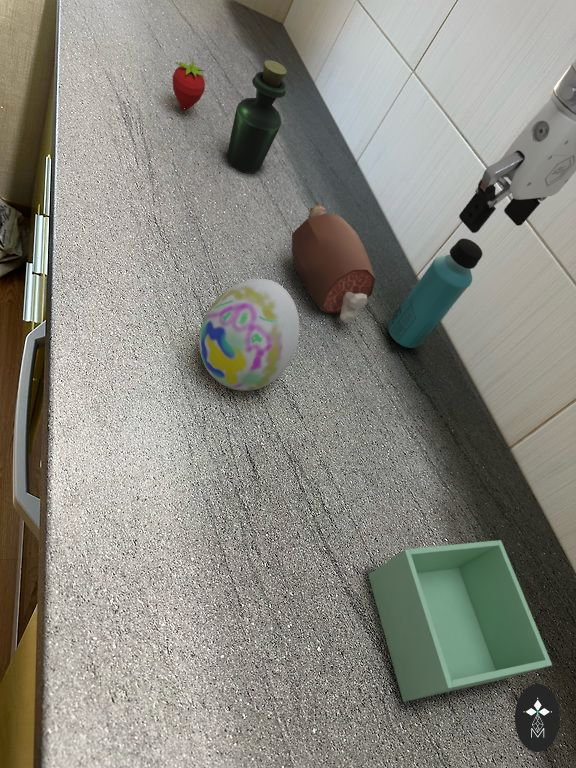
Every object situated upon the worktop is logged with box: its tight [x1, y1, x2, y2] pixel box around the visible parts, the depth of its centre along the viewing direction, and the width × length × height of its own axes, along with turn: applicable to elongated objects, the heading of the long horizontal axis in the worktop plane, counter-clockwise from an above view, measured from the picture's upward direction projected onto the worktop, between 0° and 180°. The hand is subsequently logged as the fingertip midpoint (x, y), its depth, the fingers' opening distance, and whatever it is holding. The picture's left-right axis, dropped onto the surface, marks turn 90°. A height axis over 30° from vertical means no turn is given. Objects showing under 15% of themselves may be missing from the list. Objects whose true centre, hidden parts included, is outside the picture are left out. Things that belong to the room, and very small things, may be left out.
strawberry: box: [171, 56, 206, 112], centre depth 105 cm, size 6×8×10 cm
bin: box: [367, 539, 553, 703], centre depth 62 cm, size 13×13×8 cm
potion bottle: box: [226, 59, 288, 174], centre depth 99 cm, size 8×8×18 cm
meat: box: [291, 204, 376, 324], centre depth 89 cm, size 20×12×10 cm, turn 21°
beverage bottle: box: [387, 238, 483, 349], centre depth 85 cm, size 6×7×20 cm
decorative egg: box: [198, 278, 300, 392], centre depth 72 cm, size 12×12×15 cm
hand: (490, 221), depth 74 cm, fingers open, 9 cm apart
